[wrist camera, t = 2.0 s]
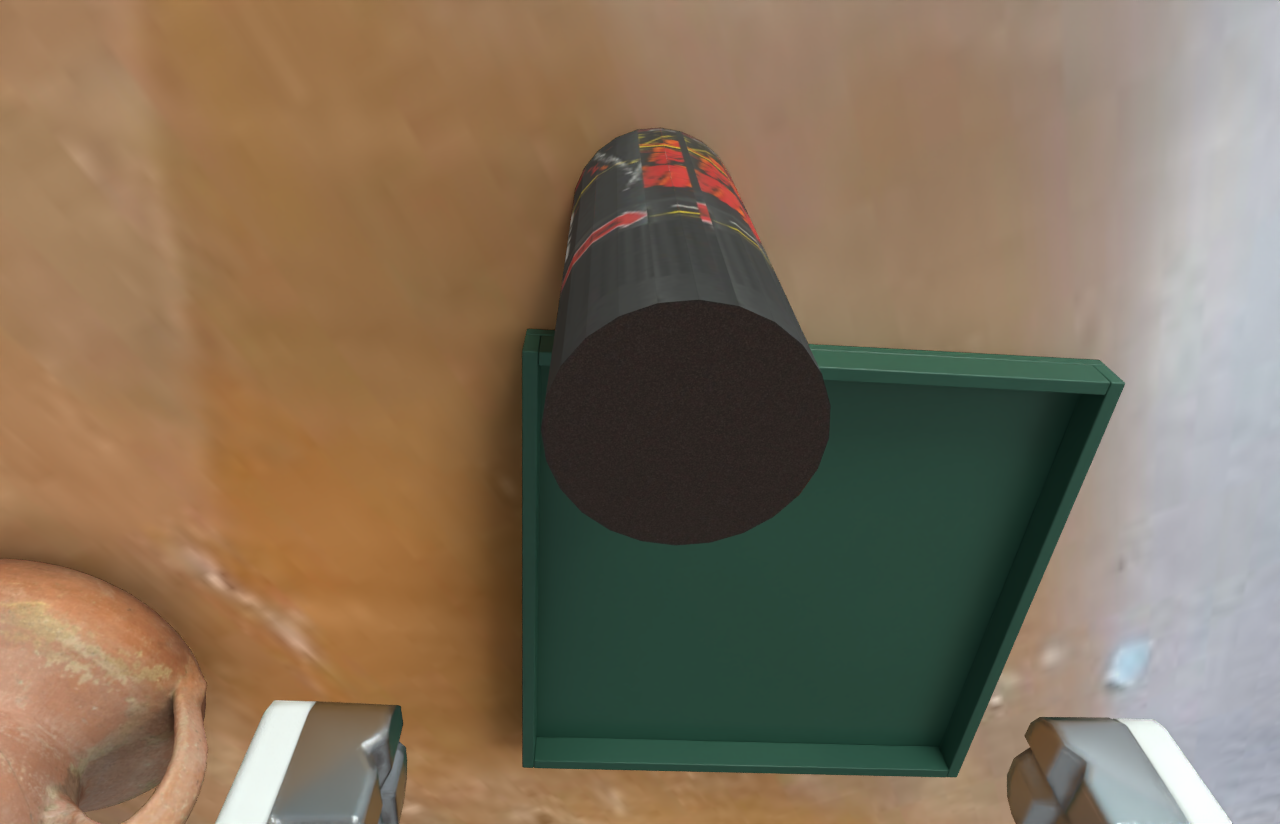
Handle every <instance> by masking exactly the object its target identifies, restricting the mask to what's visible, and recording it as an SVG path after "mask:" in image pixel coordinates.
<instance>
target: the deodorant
mask: <svg viewBox="0 0 1280 824" xmlns="http://www.w3.org/2000/svg"><path fill="white" fill-rule="evenodd" d="M830 409H831V405H830V401H829V398H828V394H827V390H826V387H825V383H824V379H823V376H822V373H821V371H820V369H819V366H818V364H817V362H816V360H815V358H814V356H813V353H812V351H811V349H810V347H809V345H808V343H807V340H806V338H805V336H804V334H803V332H802V330H801V328H800V325H799V323H798V321H797V319H796V317H795V315H794V312H793V310H792V308H791V306H790V304H789V302H788V299H787V297H786V295H785V293H784V291H783V289H782V287H781V284H780V282H779V280H778V278H777V276H776V274H775V271H774V269H773V267H772V265H771V263H770V261H769V259H768V256H767V254H766V252H765V250H764V248H763V246H762V243H761V241H760V239H759V237H758V235H757V233H756V230H755V228H754V226H753V224H752V222H751V220H750V218H749V215H748V213H747V211H746V209H745V207H744V205H743V202H742V200H741V198H740V196H739V194H738V192H737V189H736V187H735V185H734V183H733V181H732V179H731V177H730V174H729V173H728V171H727V170H726V168H725V166H724V165H723V163H722V162H721V160H720V159H719V157H718V156H717V155H716V154H715V153H714V152H713V151H712V150H711V149H709V148H708V147H707V146H706V145H705V144H704V143H703V142H701V141H699V140H697V139H695V138H693V137H691V136H689V135H687V134H685V133H683V132H680V131H675V130H669V129H664V128H652V129H640V130H635V131H633V132H630V133H627V134H625V135H622V136H619V137H617V138H615V139H614V140H612V141H611V142H610V143H608V144H607V145H605V146H604V147H603V148H601V149H600V150H599V151H598V152H597V153H596V154H595V155H594V157H593V158H592V159H591V160H590V162H589V163H588V164H587V165H586V167H585V168H584V170H583V172H582V175H581V177H580V179H579V181H578V184H577V186H576V189H575V195H574V202H573V209H572V216H571V223H570V230H569V237H568V244H567V251H566V258H565V265H564V272H563V279H562V286H561V293H560V300H559V307H558V314H557V321H556V328H555V335H554V342H553V349H552V356H551V363H550V370H549V377H548V384H547V391H546V398H545V404H544V411H543V418H542V425H541V433H542V439H543V445H544V451H545V457H546V462H547V464H548V466H549V468H550V470H551V472H552V474H553V476H554V478H555V480H556V482H557V484H558V485H559V487H560V489H561V490H562V491H563V493H564V494H565V495H566V496H567V497H568V498H569V499H570V500H571V501H572V502H573V503H574V504H575V505H576V507H577V508H578V509H579V510H580V511H581V512H582V513H584V514H585V515H587V516H588V517H590V518H591V519H593V520H595V521H596V522H598V523H599V524H601V525H602V526H604V527H605V528H607V529H609V530H611V531H614V532H616V533H619V534H622V535H625V536H628V537H631V538H634V539H637V540H639V541H644V542H652V543H660V544H668V545H688V544H701V543H711V542H714V541H718V540H721V539H725V538H728V537H732V536H735V535H739V534H742V533H745V532H746V531H748V530H750V529H752V528H754V527H756V526H758V525H759V524H761V523H763V522H765V521H767V520H769V519H771V518H773V517H774V516H775V515H776V514H778V513H779V512H780V511H781V510H782V509H784V508H785V507H786V506H787V505H788V504H789V503H791V502H792V501H793V500H794V499H795V498H796V497H798V496H799V495H800V493H801V492H802V490H803V489H804V488H805V486H806V485H807V483H808V482H809V481H810V479H811V478H812V476H813V475H814V474H815V472H816V471H817V469H818V467H819V465H820V462H821V459H822V456H823V454H824V451H825V448H826V445H827V443H828V440H829V431H830Z"/></svg>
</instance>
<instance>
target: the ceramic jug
mask: <svg viewBox="0 0 1280 824" xmlns="http://www.w3.org/2000/svg"><path fill="white" fill-rule="evenodd" d="M206 687H207V682H206V681H205V679H204V676H203V675H202V673H201V670H200V667H199V664H198V662H197V660H196V658H195V656H194V654H193V653H192V651H191V650H190V649H189V647H188V646H187V644H186V643H185V642H184V641H183V639H182V638H181V637H180V635H179V634H178V633H177V632H176V631H175V630H174V629H173V628H172V627H171V626H170V625H169V624H168V623H167V622H166V621H165V620H164V619H163V618H162V617H161V616H160V615H158V614H157V613H156V612H155V611H153V610H152V609H151V608H150V607H148V606H147V605H146V604H144V603H143V602H141V601H140V600H139V599H137V598H136V597H134V596H132V595H131V594H129V593H127V592H126V591H124V590H122V589H120V588H118V587H116V586H113V585H111V584H109V583H108V582H106V581H103V580H101V579H98V578H96V577H93V576H91V575H88V574H86V573H82V572H79V571H76V570H73V569H70V568H66V567H62V566H58V565H53V564H48V563H42V562H36V561H28V560H19V559H0V824H101V823H98V822H96V821H93V820H91V819H89V818H88V817H87V815H86V814H84V813H83V812H87V811H92V810H98V809H101V808H106V807H110V806H113V805H116V804H119V803H122V802H125V801H127V800H130V799H132V798H135V797H137V796H139V795H141V794H143V793H145V792H146V791H148V790H150V789H152V788H154V787H155V786H157V785H158V784H159V786H158V787H157V789H156V790H155V792H154V793H153V795H152V796H151V797H150V799H149V800H148V801H147V802H146V803H145V804H144V806H143V807H142V808H141V809H140V810H138V811H137V812H136V813H135V814H134V815H133V816H132V817H130V818H129V819H128V820H126V821H124V822H122V823H119V824H185V823H186V821H187V819H188V817H189V815H190V813H191V811H192V809H193V807H194V805H195V803H196V801H197V798H198V796H199V794H200V790H201V787H202V783H203V781H204V776H205V772H206V764H207V753H208V746H207V740H206V735H205V728H204V723H203V722H204V717H205V708H206Z"/></svg>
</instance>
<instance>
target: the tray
mask: <svg viewBox="0 0 1280 824" xmlns="http://www.w3.org/2000/svg"><path fill="white" fill-rule="evenodd" d="M554 335H555V330H540V329H527V331H526V336H525V341H524V345H523V350H522V766H523V767H524V768H533V767H534V768H558V769H602V770H647V771H691V772H736V773H780V774H825V775H869V776H914V777H957V775H958V773H959V771H960V768H961V766H962V764H963V761H964V759H965V757H966V754H967V752H968V750H969V747H970V745H971V743H972V740H973V738H974V736H975V733H976V731H977V729H978V726H979V724H980V722H981V719H982V717H983V715H984V712H985V710H986V708H987V705H988V703H989V701H990V698H991V696H992V694H993V691H994V689H995V687H996V684H997V682H998V680H999V677H1000V675H1001V673H1002V670H1003V668H1004V666H1005V663H1006V661H1007V658H1008V656H1009V654H1010V651H1011V649H1012V647H1013V644H1014V642H1015V640H1016V637H1017V635H1018V633H1019V630H1020V628H1021V626H1022V623H1023V621H1024V619H1025V616H1026V614H1027V612H1028V609H1029V607H1030V605H1031V602H1032V600H1033V598H1034V595H1035V593H1036V591H1037V588H1038V586H1039V584H1040V581H1041V579H1042V577H1043V574H1044V572H1045V570H1046V567H1047V565H1048V563H1049V560H1050V558H1051V556H1052V553H1053V551H1054V549H1055V546H1056V544H1057V542H1058V539H1059V537H1060V535H1061V532H1062V530H1063V528H1064V525H1065V523H1066V521H1067V518H1068V516H1069V514H1070V511H1071V509H1072V507H1073V504H1074V502H1075V500H1076V497H1077V495H1078V493H1079V490H1080V488H1081V486H1082V483H1083V481H1084V479H1085V476H1086V474H1087V472H1088V469H1089V467H1090V465H1091V462H1092V460H1093V458H1094V455H1095V453H1096V451H1097V448H1098V446H1099V444H1100V441H1101V439H1102V437H1103V434H1104V432H1105V430H1106V427H1107V425H1108V423H1109V420H1110V418H1111V416H1112V413H1113V411H1114V409H1115V406H1116V404H1117V402H1118V399H1119V397H1120V395H1121V392H1122V390H1123V388H1124V385H1125V383H1124V382H1123V381H1122V380H1121V379H1120V378H1119V377H1118V376H1117V375H1116V374H1114V373H1113V372H1112V371H1111V370H1110V369H1109V368H1108V367H1107V366H1105V364H1103V363H1102V362H1101V361H1100V360H1090V359H1071V358H1053V357H1035V356H1016V355H998V354H980V353H961V352H943V351H925V350H906V349H888V348H870V347H851V346H833V345H815V344H808V345H809V347H810V349H811V351H812V353H813V356H814V358H815V360H816V362H817V364H818V366H819V369H820V371H821V373H822V376H823V379H824V383H825V387H826V390H827V394H828V398H829V401H830V405H831V409H830V431H829V440H828V443H827V445H826V448H825V451H824V454H823V456H822V459H821V462H820V465H819V467H818V469H817V471H816V472H815V474H814V475H813V476H812V478H811V479H810V481H809V482H808V483H807V485H806V486H805V488H804V489H803V490H802V492H801V493H800V495H799V496H798V497H796V498H795V499H794V500H793V501H792V502H791V503H789V504H788V505H787V506H786V507H785V508H784V509H782V510H781V511H780V512H779V513H778V514H776V515H775V516H774V517H773V518H771V519H769V520H767V521H765V522H763V523H761V524H759V525H758V526H756V527H754V528H752V529H750V530H748V531H746V532H745V533H742V534H739V535H735V536H732V537H728V538H725V539H721V540H718V541H714V542H711V543H701V544H688V545H668V544H660V543H652V542H644V541H639V540H637V539H634V538H631V537H628V536H625V535H622V534H619V533H616V532H614V531H611V530H609V529H607V528H605V527H604V526H602V525H601V524H599V523H598V522H596V521H595V520H593V519H591V518H590V517H588V516H587V515H585V514H584V513H582V512H581V511H580V510H579V509H578V508H577V507H576V505H575V504H574V503H573V502H572V501H571V500H570V499H569V498H568V497H567V496H566V495H565V494H564V493H563V491H562V490H561V489H560V487H559V485H558V484H557V482H556V480H555V478H554V476H553V474H552V472H551V470H550V468H549V466H548V464H547V462H546V457H545V451H544V445H543V439H542V433H541V425H542V418H543V411H544V404H545V398H546V391H547V384H548V377H549V370H550V363H551V356H552V349H553V342H554Z"/></svg>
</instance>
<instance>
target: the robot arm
mask: <svg viewBox="0 0 1280 824" xmlns="http://www.w3.org/2000/svg"><path fill="white" fill-rule="evenodd" d="M402 727H403V719H402V712H401V706H399V705H382V704H361V703H340V702H319V701H285V700H274V701H273V702H272V704H271V705H270V706H269V707H268V708H267V710H266V711H265V712H264V714H263V716H262V719H261V721H260V723H259V725H258V728H257V730H256V732H255V734H254V737H253V739H252V741H251V743H250V746H249V748H248V750H247V752H246V755H245V757H244V759H243V761H242V764H241V766H240V768H239V771H238V773H237V775H236V777H235V780H234V782H233V784H232V786H231V789H230V791H229V793H228V795H227V798H226V800H225V802H224V804H223V807H222V809H221V811H220V814H219V816H218V818H217V820H216V823H215V824H399V822H400V817H401V813H402V808H403V804H404V796H405V788H406V781H407V754H406V747H405V746H404V745H402V744H401V743H400V742H399V739H400V735H401V731H402ZM1025 738H1026V740H1027V742H1028V744H1029V746H1030V748H1028V749H1027V750H1025V751H1024V752H1022V753H1021V754H1019V755H1018V756H1016V757H1015V758H1014V759H1013V762H1012V764H1011V767H1010V769H1009V772H1008V774H1007V798H1008V802H1009V806H1010V810H1011V814H1012V816H1013V818H1014V821H1015V823H1016V824H1233V823H1232V822H1231V821H1230V819H1229V818H1228V816H1227V815H1226V814H1225V812H1224V811H1223V809H1222V808H1221V807H1220V805H1219V804H1218V802H1217V801H1216V799H1215V798H1214V797H1213V795H1212V794H1211V792H1210V791H1209V790H1208V788H1207V787H1206V785H1205V784H1204V782H1203V781H1202V780H1201V778H1200V777H1199V775H1198V774H1197V773H1196V771H1195V770H1194V768H1193V767H1192V766H1191V764H1190V763H1189V761H1188V760H1187V758H1186V757H1185V756H1184V754H1183V753H1182V751H1181V750H1180V749H1179V747H1178V746H1177V744H1176V743H1175V741H1174V740H1173V739H1172V737H1171V736H1170V734H1169V733H1168V732H1167V730H1166V729H1165V728H1164V727H1163V726H1162V725H1160V724H1159V723H1158V722H1156V721H1155V720H1153V719H1111V718H1088V717H1039V718H1038V719H1036V720H1034V721H1033V722H1031V723H1030V725H1029V728H1028V730H1027V732H1026V734H1025Z"/></svg>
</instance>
